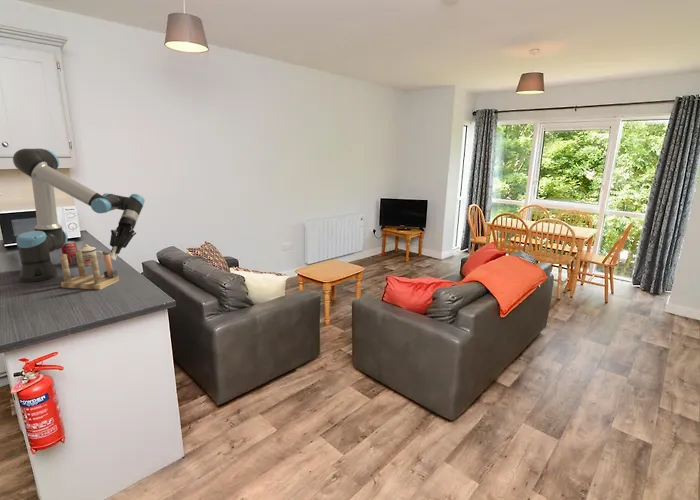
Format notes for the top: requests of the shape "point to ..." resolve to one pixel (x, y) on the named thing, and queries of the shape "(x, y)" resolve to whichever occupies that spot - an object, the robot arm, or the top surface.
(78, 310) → the top surface
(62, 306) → the top surface
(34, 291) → the top surface
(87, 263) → the teacup with lid
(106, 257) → the folding leg
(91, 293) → the top surface
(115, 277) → the stool
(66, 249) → the soda can
